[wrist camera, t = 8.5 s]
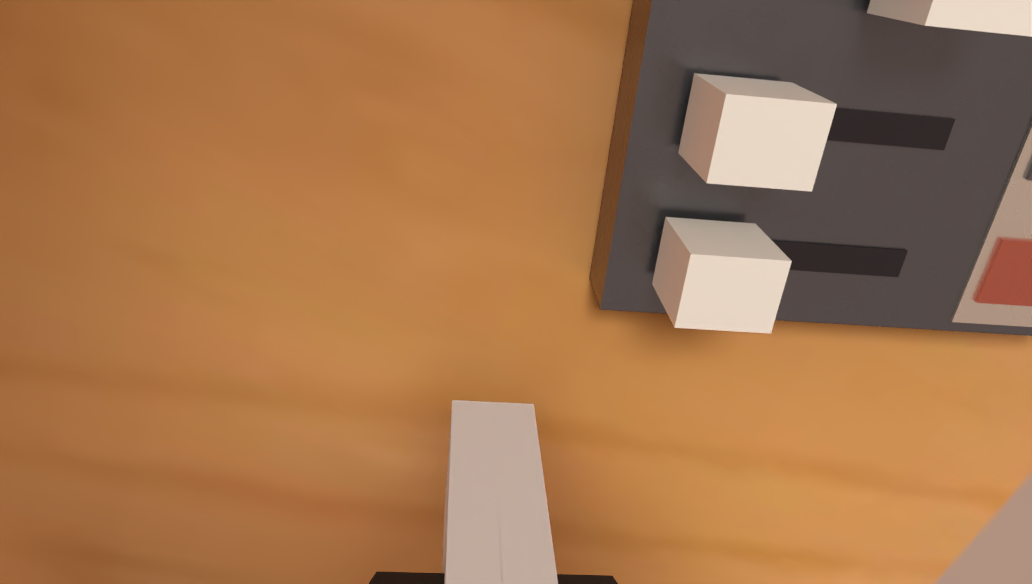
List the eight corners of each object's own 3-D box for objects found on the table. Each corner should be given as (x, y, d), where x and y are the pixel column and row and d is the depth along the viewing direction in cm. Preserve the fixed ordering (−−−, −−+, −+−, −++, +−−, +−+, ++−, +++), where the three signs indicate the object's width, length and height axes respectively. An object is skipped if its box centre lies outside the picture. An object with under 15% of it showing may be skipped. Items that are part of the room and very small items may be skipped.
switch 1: (694, 73, 22) (726, 93, 19) (792, 82, 22) (837, 103, 19) (678, 152, 23) (706, 183, 20) (771, 160, 23) (811, 191, 20)
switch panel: (657, -152, 22) (681, -162, 19) (1211, -84, 23) (1299, -86, 21) (589, 278, 28) (601, 312, 25) (1031, 307, 29) (1083, 341, 27)
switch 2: (665, 216, 24) (691, 254, 21) (755, 223, 24) (791, 261, 21) (652, 283, 25) (674, 327, 22) (738, 289, 25) (771, 333, 22)
